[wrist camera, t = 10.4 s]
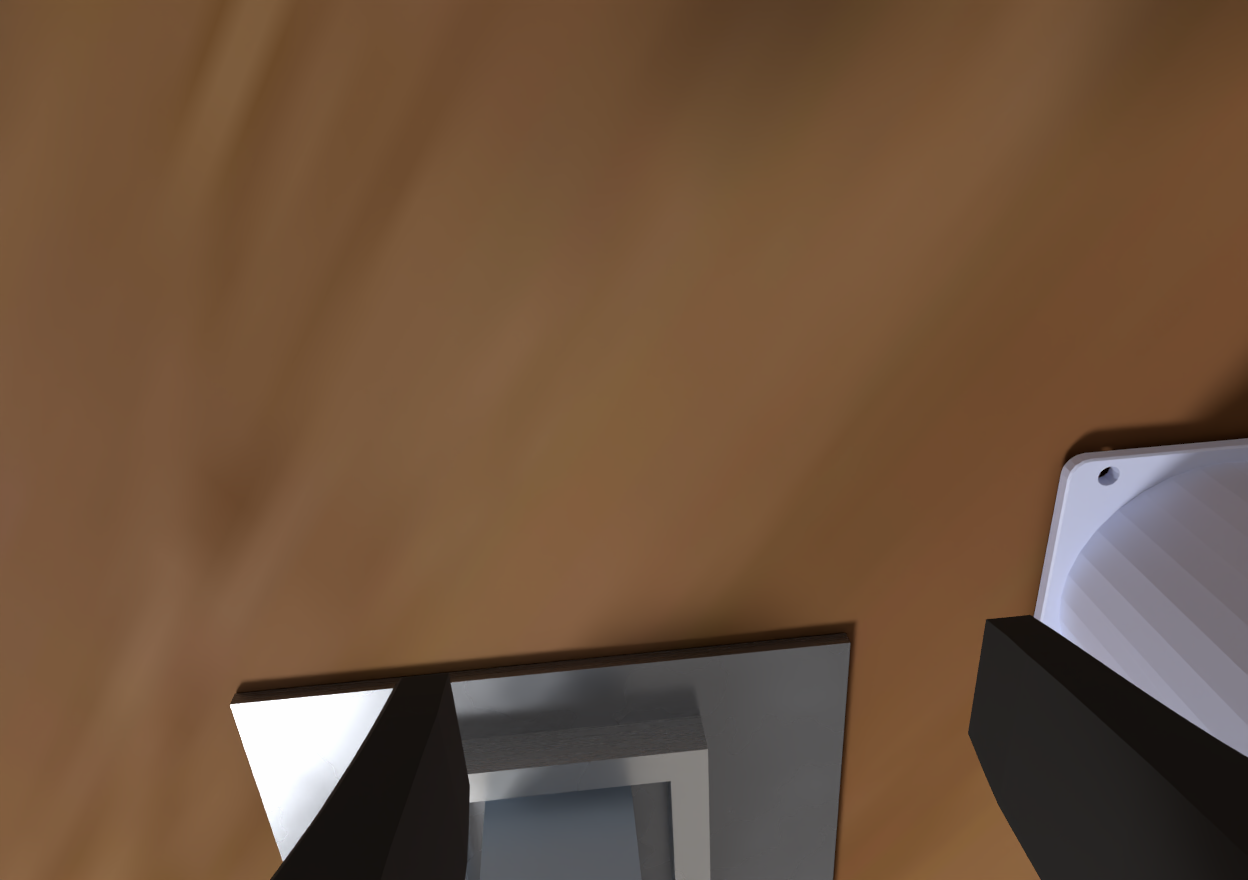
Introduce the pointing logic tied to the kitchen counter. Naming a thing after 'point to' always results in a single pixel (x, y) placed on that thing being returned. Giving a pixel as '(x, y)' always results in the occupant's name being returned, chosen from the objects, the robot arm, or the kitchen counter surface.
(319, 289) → the kitchen counter surface
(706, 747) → the pocket plate
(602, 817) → the light blue block
